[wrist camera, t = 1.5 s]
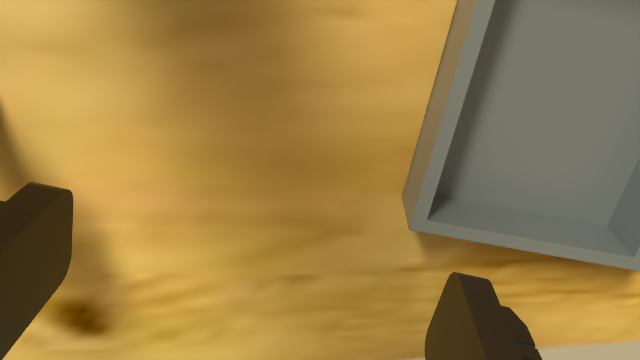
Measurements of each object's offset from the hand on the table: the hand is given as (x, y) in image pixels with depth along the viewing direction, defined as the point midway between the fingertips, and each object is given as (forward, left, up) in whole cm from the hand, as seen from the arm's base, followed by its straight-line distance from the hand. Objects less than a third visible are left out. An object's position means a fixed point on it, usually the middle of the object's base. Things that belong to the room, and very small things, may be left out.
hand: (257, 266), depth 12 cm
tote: (-1, +14, -21) cm, 25 cm away
